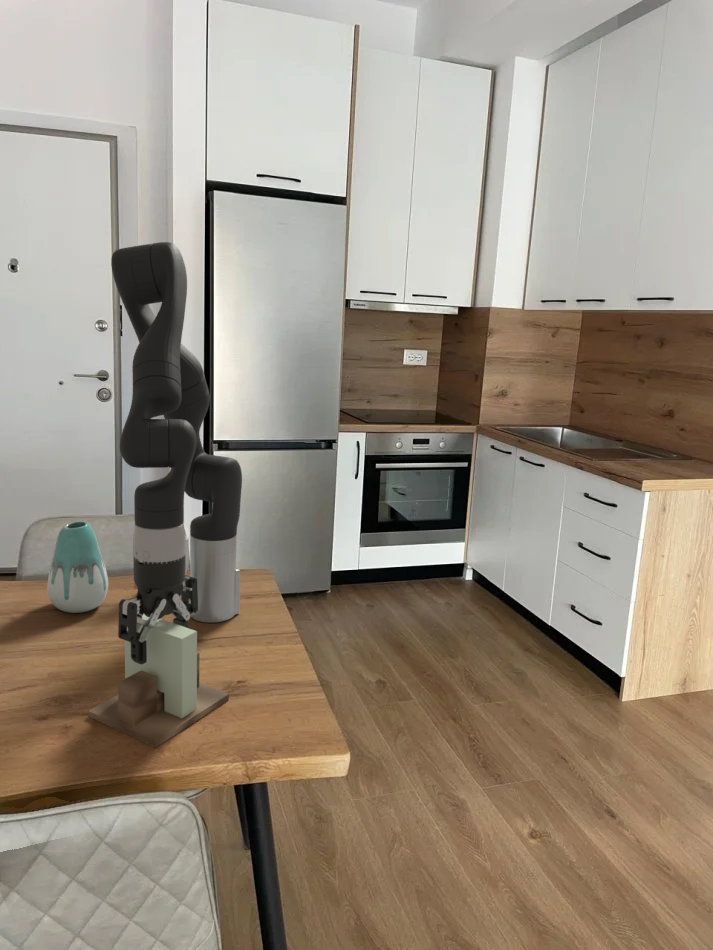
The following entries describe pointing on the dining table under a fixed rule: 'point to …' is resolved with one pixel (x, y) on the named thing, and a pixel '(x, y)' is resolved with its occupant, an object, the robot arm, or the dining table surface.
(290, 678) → the dining table surface
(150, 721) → the slot plate
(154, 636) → the upright sage green panel
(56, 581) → the vase
